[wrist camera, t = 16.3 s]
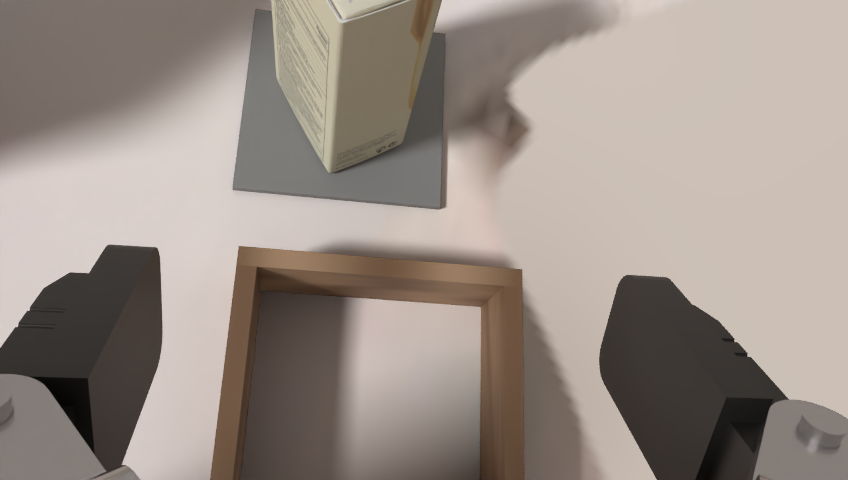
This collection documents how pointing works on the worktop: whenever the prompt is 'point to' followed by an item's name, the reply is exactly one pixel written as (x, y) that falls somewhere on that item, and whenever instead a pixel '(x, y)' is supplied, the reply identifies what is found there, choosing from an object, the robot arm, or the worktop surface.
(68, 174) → the worktop surface
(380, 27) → the skincare box
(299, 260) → the walnut box
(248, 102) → the rubber mat
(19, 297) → the worktop surface
